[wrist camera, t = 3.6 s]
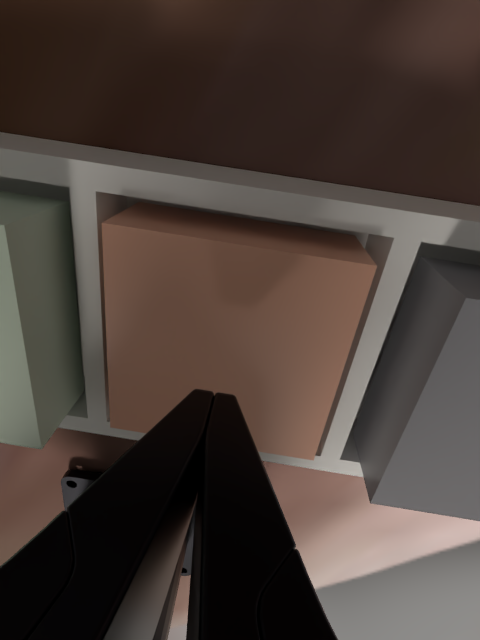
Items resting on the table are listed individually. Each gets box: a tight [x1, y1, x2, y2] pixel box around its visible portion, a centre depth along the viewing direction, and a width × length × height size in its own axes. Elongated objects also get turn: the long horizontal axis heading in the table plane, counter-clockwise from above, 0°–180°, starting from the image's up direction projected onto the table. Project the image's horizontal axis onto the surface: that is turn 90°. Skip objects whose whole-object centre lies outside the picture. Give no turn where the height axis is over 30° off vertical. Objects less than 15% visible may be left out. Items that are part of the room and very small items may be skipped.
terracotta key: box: [102, 202, 377, 461], centre depth 10 cm, size 6×6×2 cm
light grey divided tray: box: [0, 132, 480, 477], centre depth 11 cm, size 8×23×3 cm, turn 82°
